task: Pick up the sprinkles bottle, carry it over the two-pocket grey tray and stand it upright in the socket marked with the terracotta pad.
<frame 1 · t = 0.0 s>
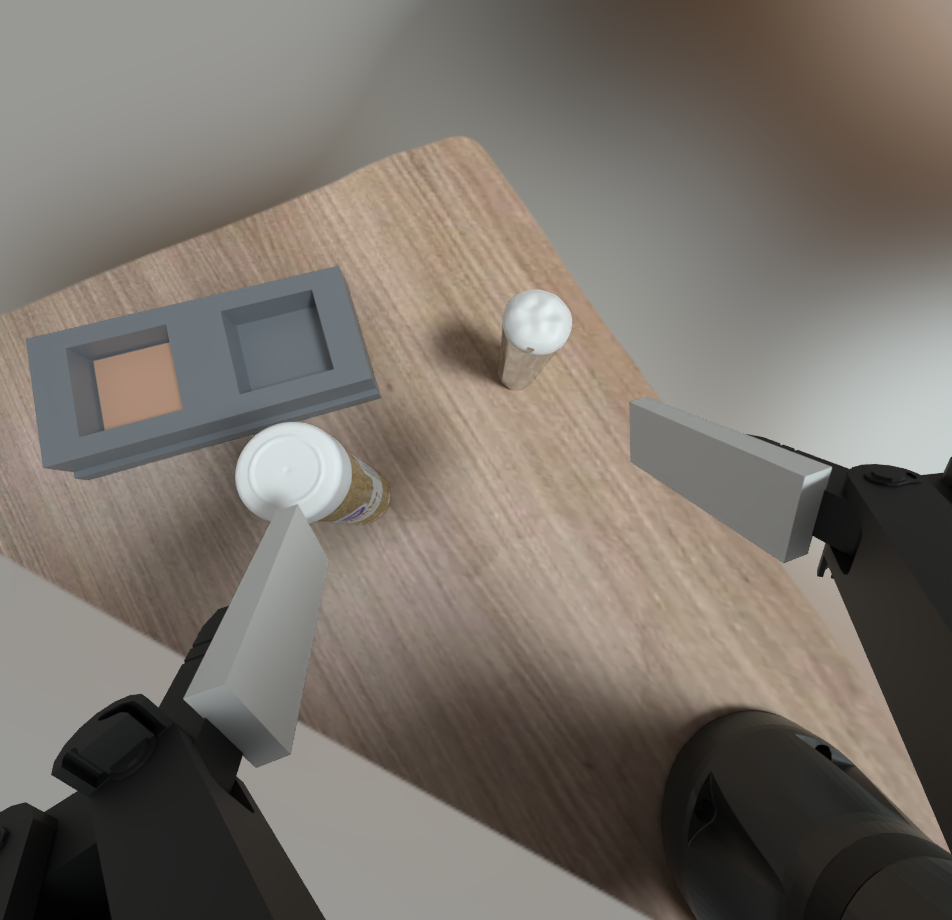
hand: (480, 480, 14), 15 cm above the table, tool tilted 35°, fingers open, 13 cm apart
two-pocket grey tray: (227, 375, 29), on the table
milkshake: (514, 378, 31), on the table
sprinkles bottle: (364, 495, 29), on the table
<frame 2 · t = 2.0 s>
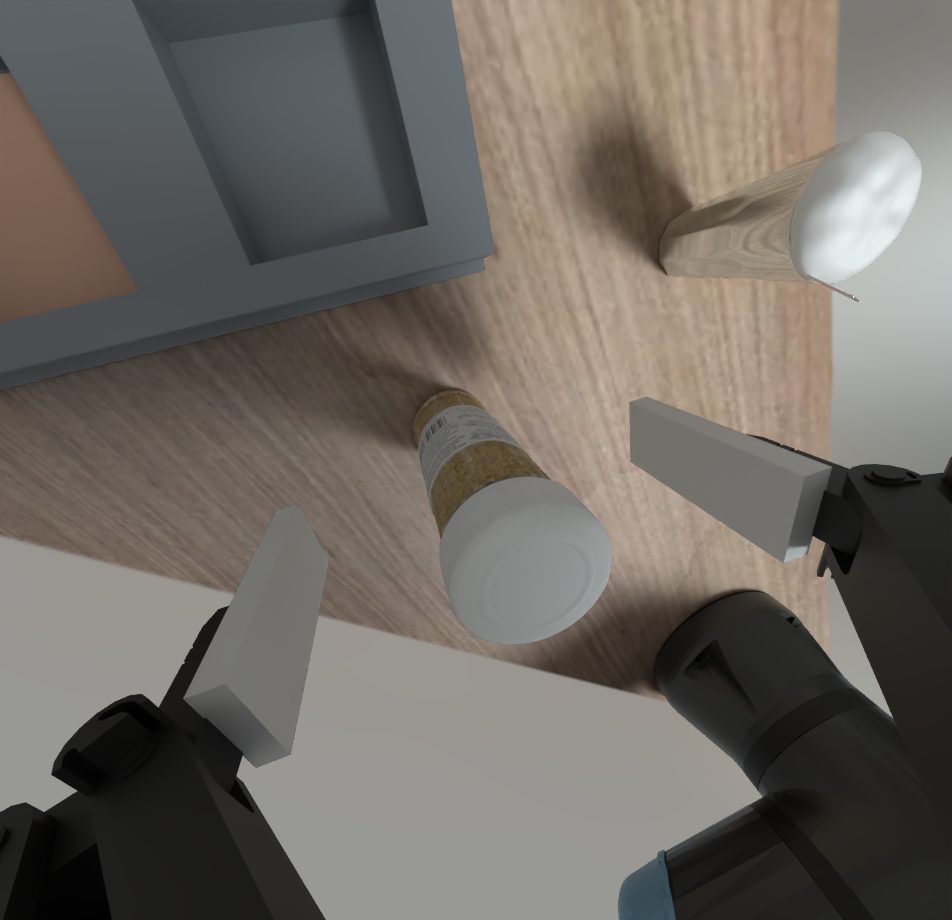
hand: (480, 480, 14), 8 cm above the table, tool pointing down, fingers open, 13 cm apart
two-pocket grey tray: (182, 187, 14), on the table
milkshake: (676, 253, 20), on the table
sprinkles bottle: (450, 424, 21), on the table
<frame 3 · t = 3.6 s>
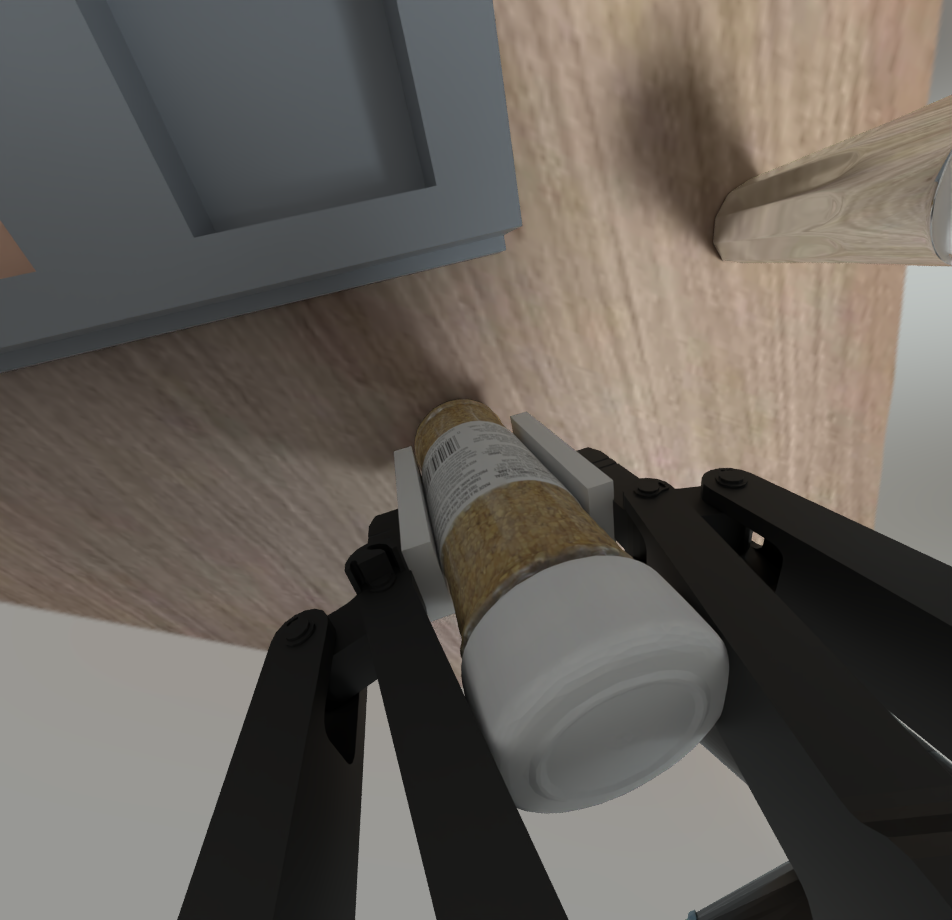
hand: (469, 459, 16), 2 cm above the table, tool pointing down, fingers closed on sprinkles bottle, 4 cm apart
two-pocket grey tray: (104, 133, 11), on the table
milkshake: (733, 233, 17), on the table
sprinkles bottle: (458, 439, 18), on the table, touching gripper
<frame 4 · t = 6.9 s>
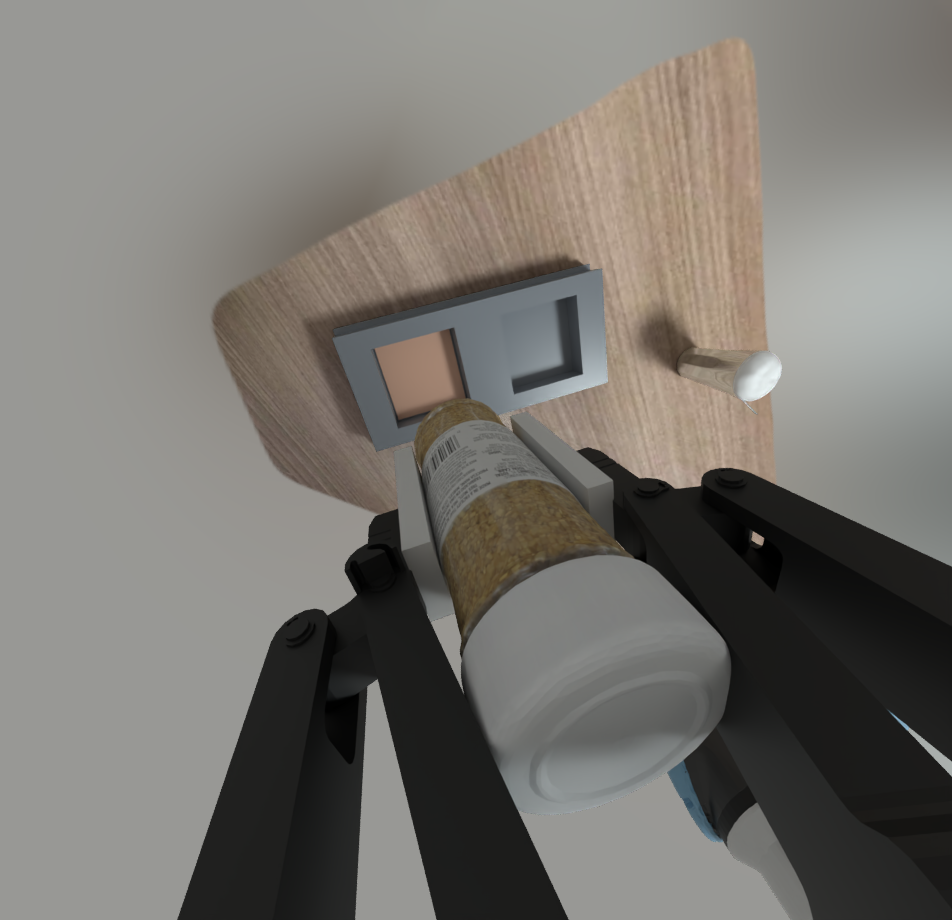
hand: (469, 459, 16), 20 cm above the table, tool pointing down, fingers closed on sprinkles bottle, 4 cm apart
two-pocket grey tray: (477, 357, 34), on the table
milkshake: (685, 365, 40), on the table
sprinkles bottle: (459, 438, 18), point 17 cm above the table, touching gripper
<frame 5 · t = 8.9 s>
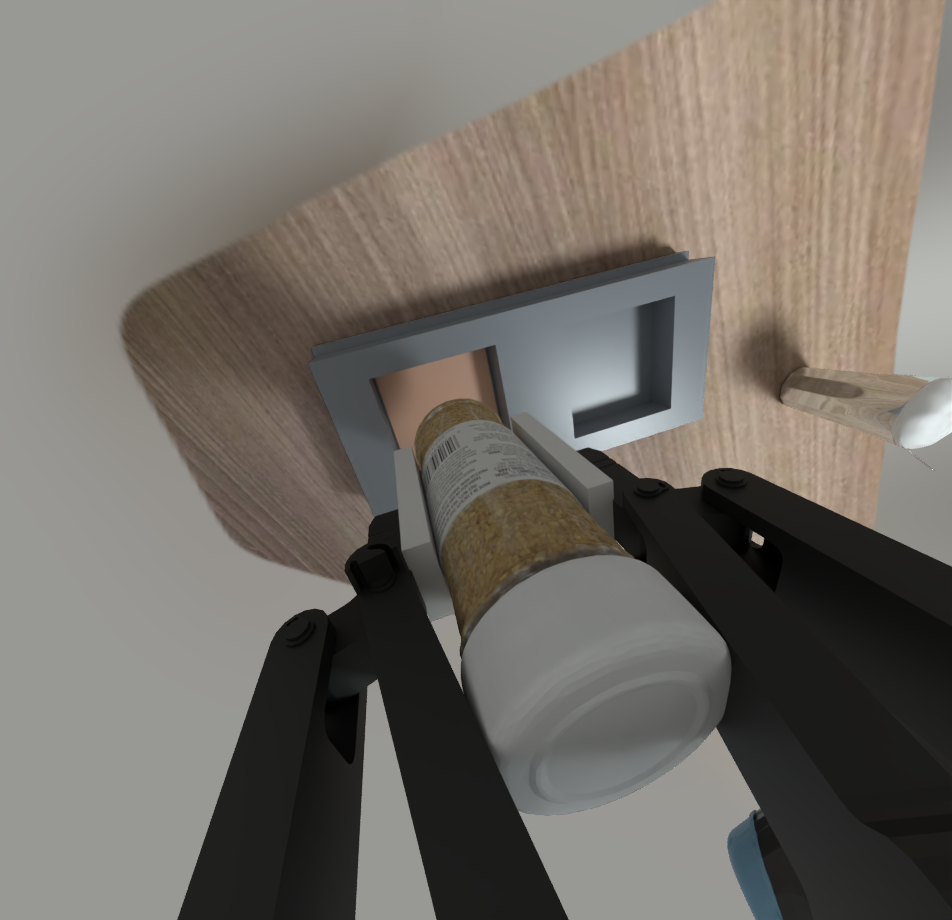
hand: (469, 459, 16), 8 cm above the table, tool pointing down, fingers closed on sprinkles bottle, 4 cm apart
two-pocket grey tray: (521, 384, 24), on the table
milkshake: (790, 390, 30), on the table
sprinkles bottle: (459, 438, 18), point 6 cm above the table, touching gripper
when the fingers open (5 cm above the table, at t = 10.4 s): sprinkles bottle drops 1 cm, resting on two-pocket grey tray.
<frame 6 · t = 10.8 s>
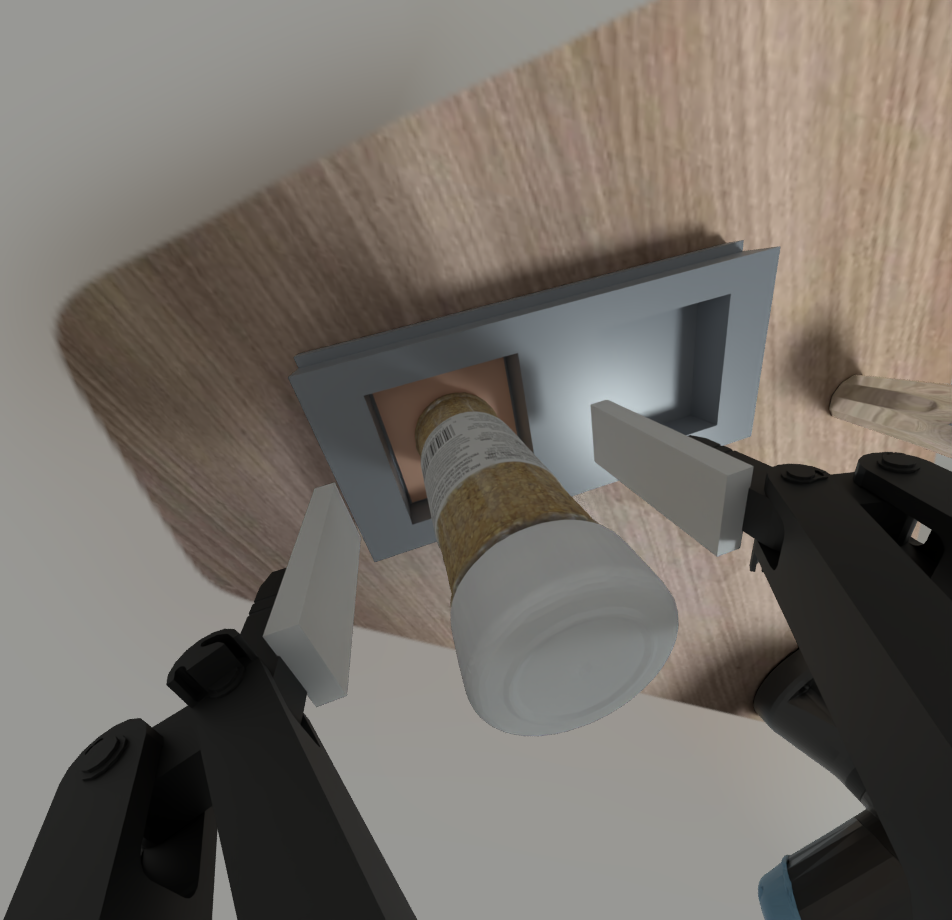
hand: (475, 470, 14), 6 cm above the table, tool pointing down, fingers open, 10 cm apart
two-pocket grey tray: (542, 397, 20), on the table
milkshake: (840, 400, 26), on the table
sprinkles bottle: (456, 430, 19), point 1 cm above the table, touching two-pocket grey tray
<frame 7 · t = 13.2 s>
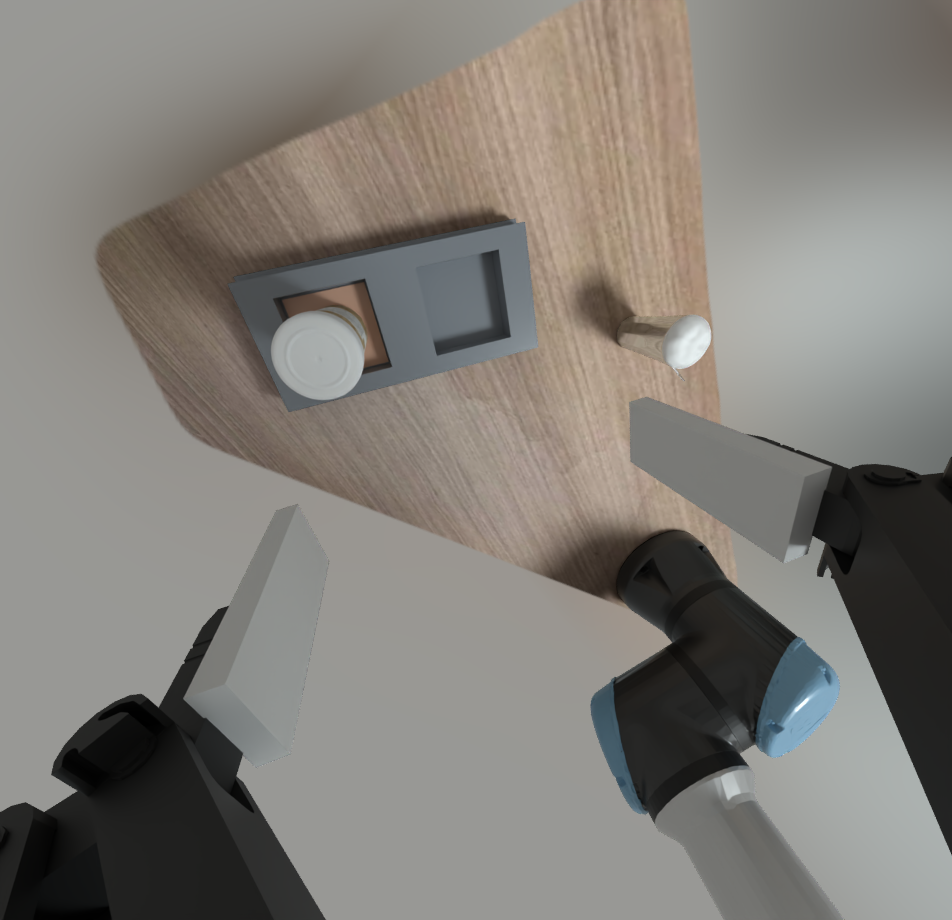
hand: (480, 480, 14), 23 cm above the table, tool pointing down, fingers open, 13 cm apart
two-pocket grey tray: (401, 316, 32), on the table
milkshake: (626, 335, 39), on the table
sprinkles bottle: (340, 332, 30), point 1 cm above the table, touching two-pocket grey tray
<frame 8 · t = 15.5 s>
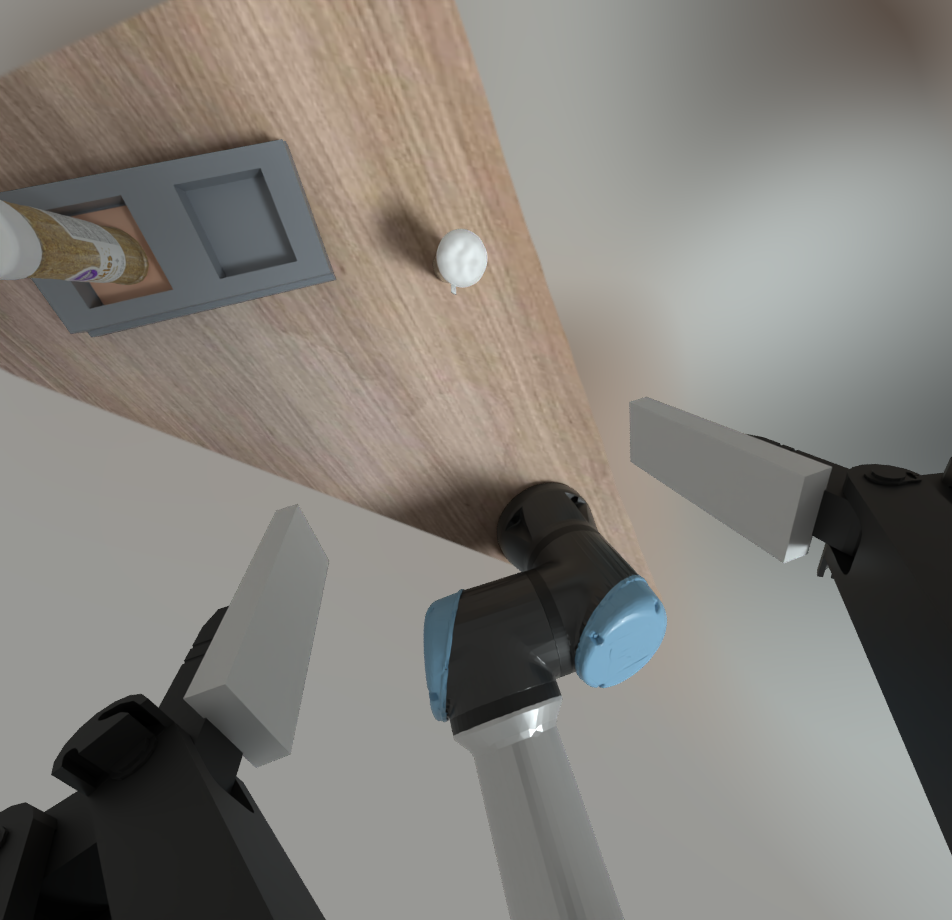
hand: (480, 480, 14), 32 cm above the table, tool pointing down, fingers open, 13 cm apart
two-pocket grey tray: (190, 244, 33), on the table
milkshake: (445, 270, 39), on the table
sprinkles bottle: (121, 256, 31), point 1 cm above the table, touching two-pocket grey tray
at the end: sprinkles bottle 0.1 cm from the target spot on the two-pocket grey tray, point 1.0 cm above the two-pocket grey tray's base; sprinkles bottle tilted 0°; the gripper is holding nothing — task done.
